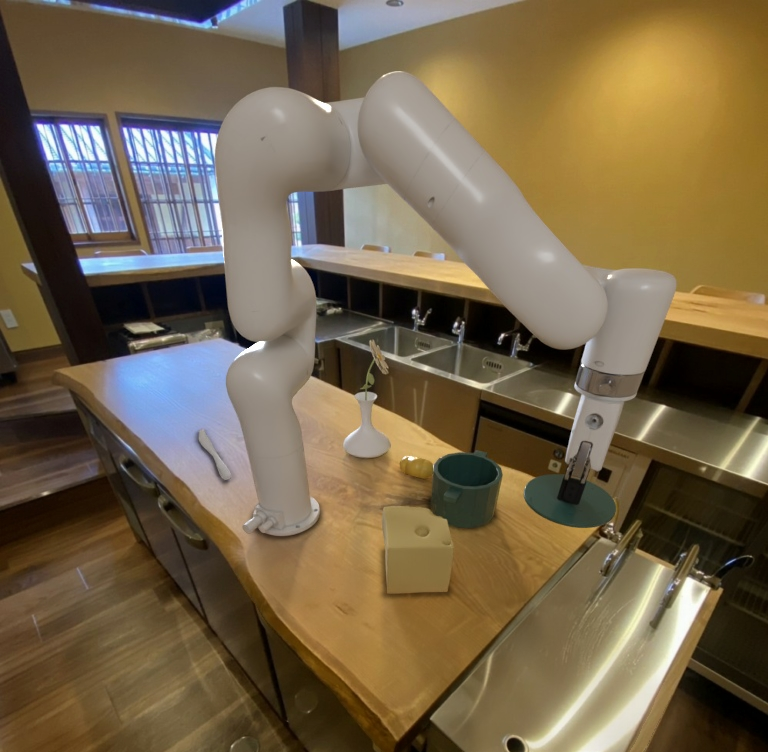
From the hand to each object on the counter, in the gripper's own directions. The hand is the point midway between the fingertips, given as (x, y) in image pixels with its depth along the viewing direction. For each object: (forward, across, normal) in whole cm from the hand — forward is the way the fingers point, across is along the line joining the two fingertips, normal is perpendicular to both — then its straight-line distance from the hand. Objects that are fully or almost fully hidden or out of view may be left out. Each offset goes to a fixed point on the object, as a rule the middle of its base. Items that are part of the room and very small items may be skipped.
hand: (570, 494), depth 66 cm
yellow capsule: (+13, +12, +31) cm, 36 cm away
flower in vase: (+13, +17, +46) cm, 51 cm away
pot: (+13, +6, +18) cm, 23 cm away
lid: (+1, 0, 0) cm, 1 cm away
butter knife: (+13, -3, +78) cm, 79 cm away
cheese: (+13, -15, +19) cm, 28 cm away
